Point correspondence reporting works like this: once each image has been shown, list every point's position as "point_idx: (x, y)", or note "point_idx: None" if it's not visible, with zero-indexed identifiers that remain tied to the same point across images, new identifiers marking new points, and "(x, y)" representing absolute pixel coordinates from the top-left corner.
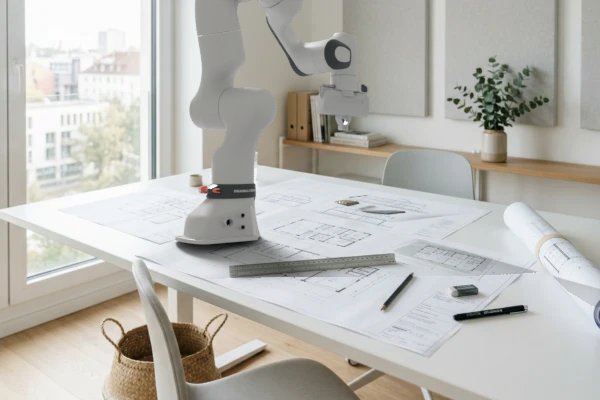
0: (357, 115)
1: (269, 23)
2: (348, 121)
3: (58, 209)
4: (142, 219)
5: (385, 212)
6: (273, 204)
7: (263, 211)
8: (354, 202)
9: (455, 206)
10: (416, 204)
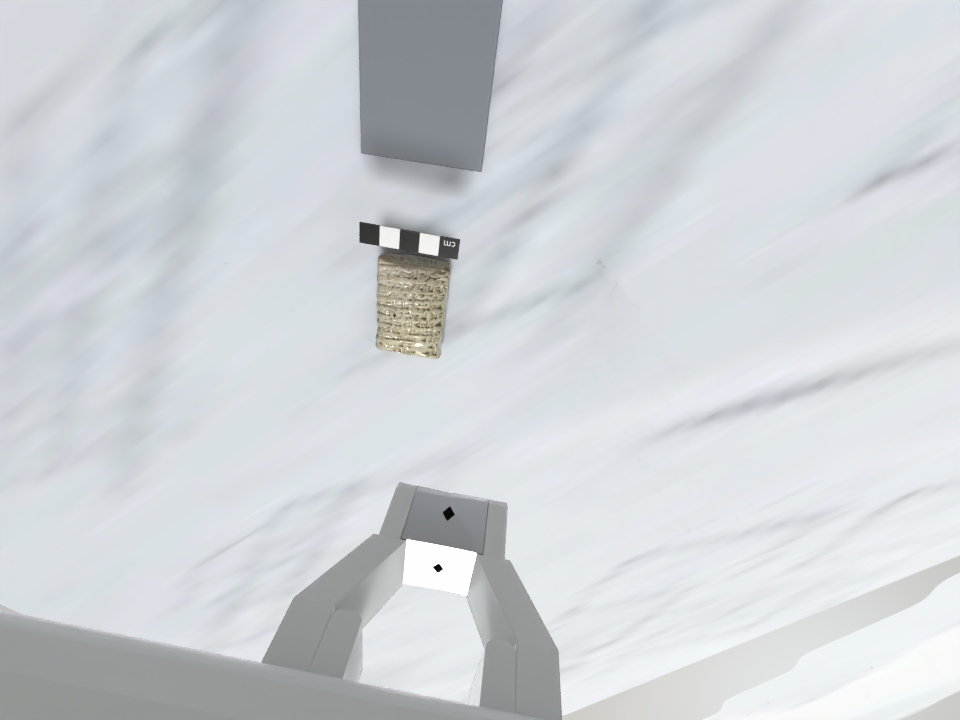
0: (103, 644)
1: None
2: (363, 581)
3: (793, 708)
4: None
5: (485, 8)
6: None
7: (645, 440)
8: (402, 263)
9: None
10: (29, 180)
